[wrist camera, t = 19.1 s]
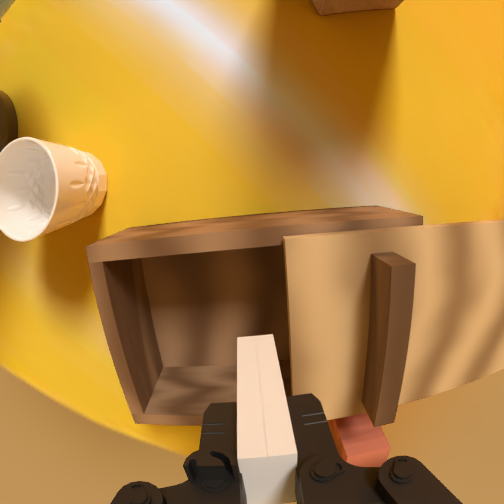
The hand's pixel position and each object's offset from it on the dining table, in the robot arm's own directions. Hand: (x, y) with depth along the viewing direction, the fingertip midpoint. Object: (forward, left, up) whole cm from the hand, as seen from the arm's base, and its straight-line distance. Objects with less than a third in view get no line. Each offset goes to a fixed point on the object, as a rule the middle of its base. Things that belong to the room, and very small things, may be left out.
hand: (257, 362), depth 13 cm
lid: (+15, -3, -11) cm, 19 cm away
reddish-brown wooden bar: (+9, -16, -17) cm, 25 cm away
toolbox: (+1, -3, -17) cm, 17 cm away
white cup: (-16, +10, -17) cm, 26 cm away
